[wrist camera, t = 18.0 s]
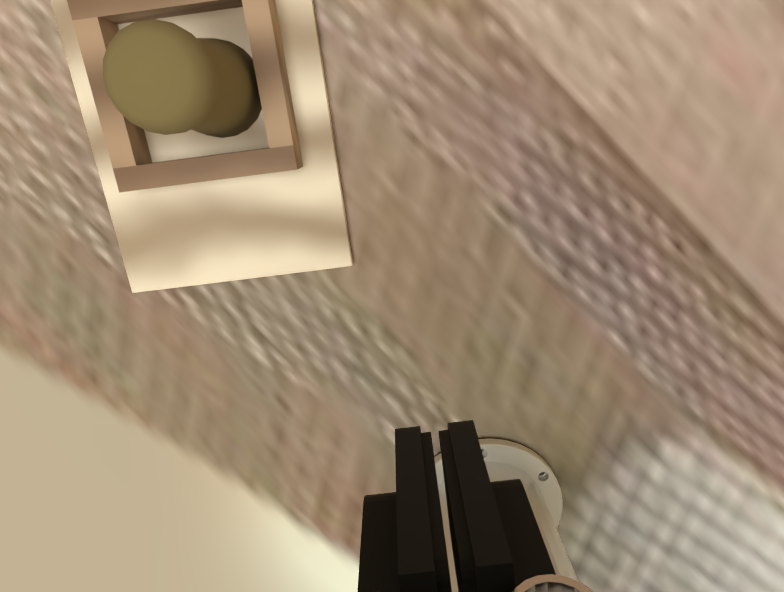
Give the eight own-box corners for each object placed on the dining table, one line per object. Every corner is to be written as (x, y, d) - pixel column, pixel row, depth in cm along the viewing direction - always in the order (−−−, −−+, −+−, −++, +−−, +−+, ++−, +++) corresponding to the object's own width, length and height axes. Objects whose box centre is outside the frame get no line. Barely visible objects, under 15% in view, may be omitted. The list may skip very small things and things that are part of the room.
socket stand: (352, 262, 40) (349, 275, 37) (138, 288, 41) (116, 303, 37) (305, -49, 34) (296, -67, 31) (54, -13, 35) (19, -28, 31)
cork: (224, 17, 34) (151, -28, 24) (283, 102, 36) (240, 94, 25) (151, 76, 35) (51, 58, 25) (212, 156, 37) (142, 170, 26)
